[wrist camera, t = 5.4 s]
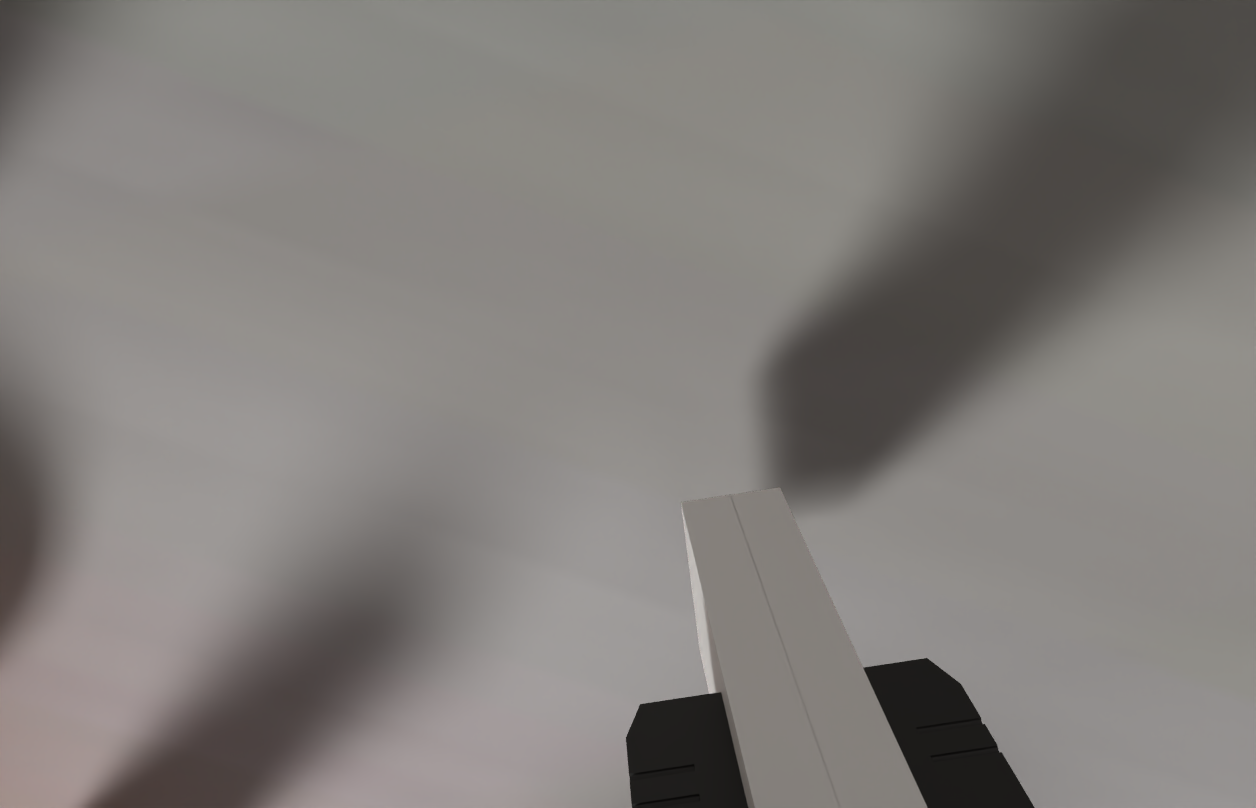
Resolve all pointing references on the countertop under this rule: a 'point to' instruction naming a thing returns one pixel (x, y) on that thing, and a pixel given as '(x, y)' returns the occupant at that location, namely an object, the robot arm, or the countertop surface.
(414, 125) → the countertop surface
